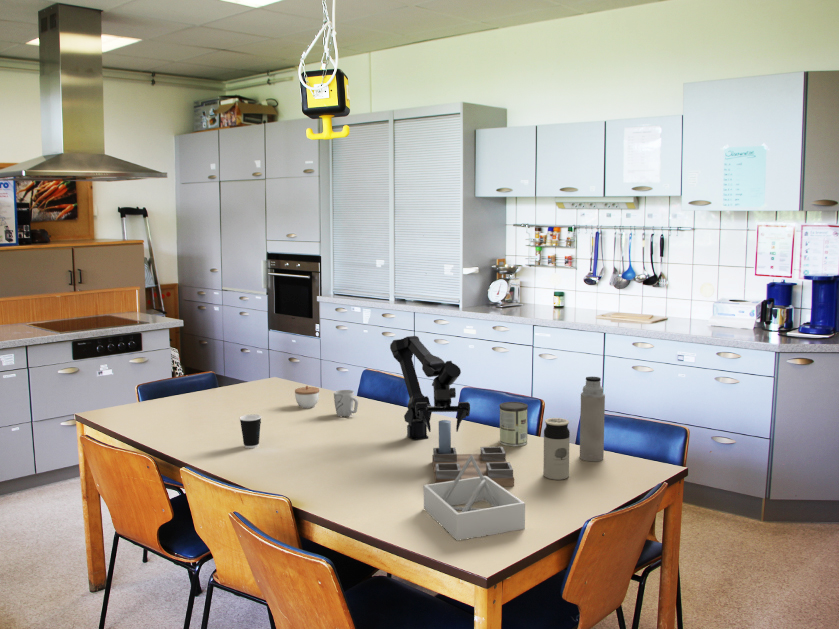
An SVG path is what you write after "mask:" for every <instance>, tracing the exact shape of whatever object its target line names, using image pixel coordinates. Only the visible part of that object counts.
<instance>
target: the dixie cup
mask: <svg viewBox="0 0 839 629" xmlns="http://www.w3.org/2000/svg"><path fill="white" fill-rule="evenodd" d="M238 419H239V422H240V427H241V428H240V429H241V435H242V441H243V445H244V448H245V449H249V448H251V449H256V448H258V447H259V444H260V435H261V434H260V432H261V422H262V420H261V419H262V415H260V414H244V415H241V416H240V417H239V418H238ZM255 447H256V448H255Z"/></svg>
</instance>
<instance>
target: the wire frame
mask: <svg viewBox="0 0 839 629" xmlns="http://www.w3.org/2000/svg"><path fill="white" fill-rule="evenodd" d="M471 461H472V463H473V465H474V467H475V469H476V471H477V473H478V475H479V477H480V479H481V483H480V484H479V485H478V487H477V488H476V490H475V491H474V493H473V494H472V496H471V497H470V499H469V500H468V502H467V503H465V504H464V506H455V505H453V506H451V507H452V508H453V509H454V510H456V511H459V510H461V512H467V511H473V510H479V509H480V508H477V507H473V505H474V503H476V502H475V500H476V499H477V497H478V495H479V494H480V492H481V491H482V489H483V487H485V489H486V490H487V492H488V494H489V496H490V498H491V500H492V502H493V504H494V506H495V507H497V506H498V504H497V502H496V500H495V498H494V497H493V495H492V493H491V491H490V489H489V487H488V485H487V483H486V481H485V479H484V477H483V475H482V473H481V471H480V469H479V467H478V465H477V463H476V461H475V459H474V457H473V455H470V457H469V458H468V460H467V462H466V463H465V465H464V466H463V468H462V470H461V471H460V473H459V475H458V476H457V478H456V479H455V481H454V483H453V484H452V486H451V487H450V489H449V491H448V492H447V494H446V495H445V497H444V499H443V500H444V501H445V502H446V500H447V499H448V497H449V496H450V494H451V492H452V491H453V489H454V488H455V486H456V484H457V483H458V481H459V479H460V478H461V476H462V475H463V473H464V471H465V470H466V468H467V467H468V465H469V463H470V462H471Z"/></svg>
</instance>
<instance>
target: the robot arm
mask: <svg viewBox="0 0 839 629" xmlns="http://www.w3.org/2000/svg"><path fill="white" fill-rule="evenodd" d="M389 346H390V348H389V349H390V352H391V353H392V356H393V358H394V359H395V360H396V361H397V362H398V363H399V365H400V369H401V372H402V376H403V379H404V384H405V387H406V391H407V394H408V397H409V398H408V403H407V410H406V412H405V414H404V416H403V417H404V422H405V423H408V424H407V426H406V431H407V434H406V436H407V437H408V438H410V439H411V440H413V441H414V440H415V441H416V440H424V439H429V436H428V435H427V432H429V433H431V422H430V421H431V418H432V413H456V412H457V414H456V415H457V416H456V417H457V418H456V426H455V427H456V428H455V430H456V432H459V428H460V425H461V423H462V421H463V419H466V418H467V417H469V416H470V413H471V404H470V402H469V401H458V403H457V405H452V399H455V398H456V395H457V394H456V392H457V391H456V387H450V386H451V385H453V384H454V383H455V382H456V380H457V379H458V378H459V377H460V376H461V373H462V372H461V368H460V367H459V365H457V364H455V363H453V361H452V360H447V361H444V360H443V359H442V358H440V357H439V356H436V355H433V354H432V353H431V352H430V350H428V348H427V347H426V346H425V345H424V344H423V343H422V341H421V340H420V338H419V336H417V335H411V336H406V337H403V338H400V339H393V340H392V341H391V343H390V344H389ZM413 355H414V356H415V357H416V359H417V360H418V361H419V362H420V363H421V366H422V367H421V368H422V369H421V370H422V371H423V372H424V375H425V376H426V377H427V378H433V380H432V382H431V386H432V387H433V405H431V403H430V399H429V397H428V395H427V396H425V395H424V394H423V393H422V389H421V385H420V383H419V379H418V375H417V373H416V369H415V365H414V361H413ZM427 430H428V431H427Z"/></svg>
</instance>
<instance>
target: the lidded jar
mask: <svg viewBox="0 0 839 629" xmlns="http://www.w3.org/2000/svg"><path fill="white" fill-rule="evenodd" d="M294 395H295V396H294V398H295V400H296V403H297V405H298V406H299V407H300V408H301V407H303V408H302V409H311V408H310V407H312V408H314V407H315V406H316V405H317V404H318V402H319V398H320V388H318V387H316V386H315V387H314V386H309V385H306V386H303V387H298V388H296V389H294ZM313 406H314V407H313Z"/></svg>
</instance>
